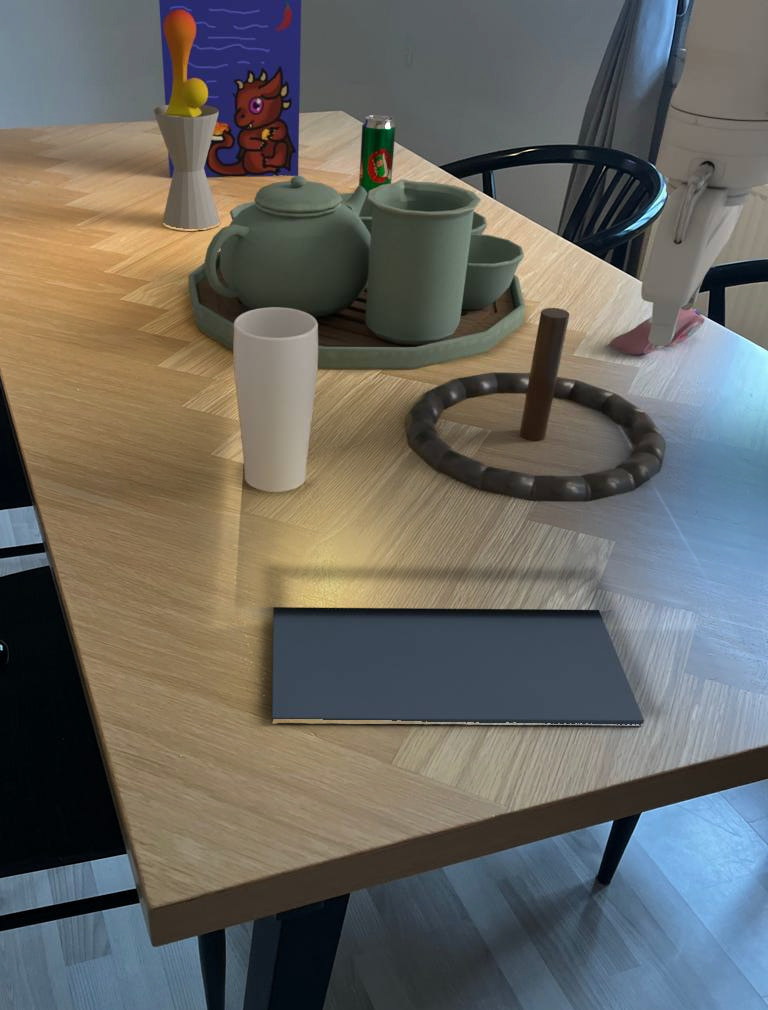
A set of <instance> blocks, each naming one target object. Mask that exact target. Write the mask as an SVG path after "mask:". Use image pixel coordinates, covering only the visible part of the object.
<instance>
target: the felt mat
mask: <svg viewBox="0 0 768 1010" xmlns="http://www.w3.org/2000/svg"><path fill="white" fill-rule="evenodd" d="M272 611H273V613H272V614H273V616H272V617H273V619H272V678H271V679H272V681H271V683H272V686H271V692H272V694H271V720H272V719H323V720H392V721H397V720H401V721H422V722H426V721H427V722H466V723H467V722H474V723H476V722H479V723H506V722H509V723H513V722H516V723H545V724H547V723H551V724H553V723H554V724H558V723H560V724H564V723H566V724H570V723H571V724H575V723H577V724H578V723H579V724H580V723H582V724H586V723H588V724H591V723H592V724H617V725H618V724H620V725H622V724H625V725H627V724H630V725H632V724H635V725H636V724H639V725H641V724H643V725H644V722H645V718H644V715H643V714H642V712H641V709H640V707H639V704H638V702H637V699H636V696H635V695H634V693H633V692H634V691H633V689H632V687H631V685H630V682H629V680H628V677H627V675H626V672H625V670H624V667H623V666H622V662H621V660H620V657H619V655H618V652H617V650H616V648H615V645H614V643H613V640H612V638H611V635H610V632H609V631H608V628H607V626H606V623H605V621H604V619H603V616H602V614H601V611H600V609H560V608H559V609H558V608H557V609H556V608H555V609H554V608H553V609H552V608H550V609H549V608H546V609H544V608H543V609H542V608H541V609H540V608H435V607H434V608H432V607H431V608H430V607H429V608H425V607H421V608H420V607H413V608H412V607H411V608H410V607H312V606H311V607H310V606H309V607H307V606H304V607H303V606H299V607H298V606H297V607H296V606H295V607H294V606H293V607H292V606H289V607H288V606H273V610H272Z"/></svg>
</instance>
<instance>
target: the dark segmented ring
mask: <svg viewBox="0 0 768 1010" xmlns="http://www.w3.org/2000/svg"><path fill="white" fill-rule="evenodd" d="M529 376H530V372H498V371H497V372H494V371H493V372H487V373H479V374H475V375H469V376H463V377H458V378H453V379H450V380H447V381H446V382H444V383H442V384H440V385H437V386H435V387H434V388H432V389H429V390H428V391H425V392H424V393H422V394H421V395H420V396H419V397H418V399H417V400H416V402H415V403H414V405H413V406H412V407H411V408H410V410H409V412H408V413H406V416H405V418H404V421H403V422H404V423H403V425H404V431H405V434H406V438H407V444H408V447H409V448H410V449H411V450H412V451H413V452H414V453H416V454H417V456H418V457H420V459H422V460H423V461H424V462H425V463H426V464H427V465H428V466H429V467H430V468H431V469H433V470H434V471H435V472H437V473H440V474H442V475H443V476H446V477H448V478H451V479H453V480H455V481H457V482H460V483H462V484H464V485H466V486H468V487H470V488H473V489H475V490H477V491H482V492H487V493H492V494H496V495H500V496H501V495H502V496H505V497H510V498H514V499H520V500H525V501H529V502H574V503H575V502H577V503H578V502H580V503H581V502H582V503H584V502H591V501H596V500H597V501H598V500H601V499H604V498H610V497H613V496H619V495H622V494H627V493H631V492H633V491H635V490H637V489H639V488H640V487H641V486H643V485H644V484H645V483H647V482H648V481H650V480H651V478H653V477H655V476H656V475H657V474H659V473H660V472H661V469H662V466H663V465H662V464H663V460H664V456H665V452H666V448H667V447H666V440H665V438H664V436H663V434H662V433H661V432H660V430H659V428H658V426H657V425H656V424H655V422H654V421H653V419H652V417H651V416H650V415H649V414H648V413H646V412H645V411H644V410H642V409H641V408H639V407H637V406H636V405H635V404H633V403H631V402H630V401H629V400H627V399H625V398H624V397H622V396H621V395H619V394H617V393H615V392H612V391H610V390H607V389H604V388H601V387H598V386H595V385H592V384H590V383H586V382H584V381H581V380H579V379H572V378H567V377H562V376H561V377H560V376H557V380H556V385H555V390H554V395H553V398H555V399H560V400H566V401H570V402H573V403H575V404H578V405H581V406H584V407H586V408H589V409H592V410H594V411H596V412H599V413H601V414H602V415H604V416H605V417H607V418H608V419H610V420H611V421H612V422H614V423H616V424H617V425H620V426H621V427H623V430H624V431H625V433H626V435H627V437H628V438H629V440H630V442H631V443H632V449H631V452H630V455H629V458H626V459H625V461H622V462H621V463H619V464H618V465H617V466H615V467H613V468H609V469H605V470H601V471H596V472H590V473H586V474H582V475H581V474H580V475H536V474H529V473H525V472H520V471H515V470H510V469H505V468H499V467H495V466H490V465H488V464H485V463H483V462H481V461H479V460H476V459H474V458H472V457H469V456H467V455H465V454H463V453H460V452H458V451H456V450H454V448H452V447H451V446H450V445H449V444H448V443H447V442H445V441H444V440H443V439H442V438H441V437H440V436H439V435H438V431H437V428H436V423H437V422H438V420H439V419H440V417H441V415H443V412H444V411H446V410H447V409H449V408H451V407H453V406H455V405H457V404H459V403H461V402H463V401H465V400H468V399H472V398H478V397H484V396H490V395H495V394H526V393H527V388H528V382H529Z"/></svg>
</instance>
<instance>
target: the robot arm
mask: <svg viewBox="0 0 768 1010" xmlns="http://www.w3.org/2000/svg"><path fill="white" fill-rule="evenodd" d="M684 44H685V47H684V48H685V56H684V65H683V70H682V73H681V75H680V79H679V81H678V84H677V85H676V88H675V89H674V91H673V93H672V95H671V98H670V102H669V105H668V110H667V115H666V118H665V119H666V120H665V122H664V126H663V132H662V135H661V140H660V144H659V148H658V153H657V156H656V160H655V165H654V167H655V170H656V171H657V173H659V174H660V175H662V176H664V177H665V178H668V181H667V184H666V188H665V193H666V194H667V196H669V197H668V198H667V200H666V202H665V205H664V207H663V210H662V213H661V215H660V218H659V221H658V225H657V228H656V231H655V235H654V238H653V242H652V246H651V249H650V253H649V256H648V260H647V264H646V267H645V271H644V275H643V278H642V282H641V283H642V284H641V291H640V295H641V296H640V297H641V299H642V300H643V301H645V302H648V303H653V304H652V312H651V317H652V325H651V329H650V333H649V337H648V341H649V342H650V343H651V344H654V345H658V346H663V348H665V347H666V346H668V345H669V344H670V342H671V341H672V339H673V336H674V333H675V329H676V326H677V322H678V321H677V319H678V316H679V313H680V310H681V309H683V310H689V309H691V308H692V309H693V307H694V305H695V304H696V302H697V299H698V296H699V292H700V289H701V286H702V284H703V281H704V279H705V277H706V275H707V273H708V272H709V271H710V269H711V267H712V266H713V264H714V262H715V261H716V260H717V258H718V256H719V255H720V253H721V252H722V250H723V248H724V247H725V246H726V244H727V243H728V242H729V239H730V238H731V236H732V234H733V231H734V229H735V227H736V225H737V223H738V220H739V218H740V215H741V214H742V211H743V209H744V206H745V204H746V203H747V202H748V201H749V199H750V196H751V193H752V189H753V188H756V187H761V186H765V185H767V184H768V0H694V2H693V5H692V9H691V13H690V18H689V22H688V26H687V30H686V34H685V43H684Z"/></svg>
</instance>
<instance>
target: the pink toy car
mask: <svg viewBox="0 0 768 1010" xmlns="http://www.w3.org/2000/svg"><path fill="white" fill-rule="evenodd" d="M677 321H678V322H677V326H676V329H675V333H674V336H673V339H672V341H671V342H670V344H669V345H668V346H665V347H666V348H669V347H671V346H674V345H675V344H680V343H682V342H684V341H685V340H687V339H688V338H690V337H692V336H693V335H694V334H695V333H696V332H697V331H698V330H699V329H700V328H701V327H702V326H703V324H704V323H705V321H706V320H705V318H704V316H702V314H701V313H700V311H698V310H697V309H696V308H693V307H692V308H691V309H689V310H683V309H681V310H680V313H679V316H678V319H677ZM651 325H652V316H651V317H649V318H647V319H645V320H644V321H642V322H640V323H639V324H638V325H637V326H636V327H635V328H632V329H630V330H629V331H627V332H625V333H623V334H620V335H618V336H615V337H614V338H613V339H612V340H611V341H610V342H609V343H608V346H609V347H611V348H612V349H614V350H615V351H618V352H621V353H623V354H626V355H631V356H639V355H642V354H644V355H648V354H651V353H652V352H655V351H656V352H657V351H660V350H662V349H663V348H664V347H663V346H658V345H654V344H651V343H650V342H649V341H648V337H649V333H650V329H651Z"/></svg>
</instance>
